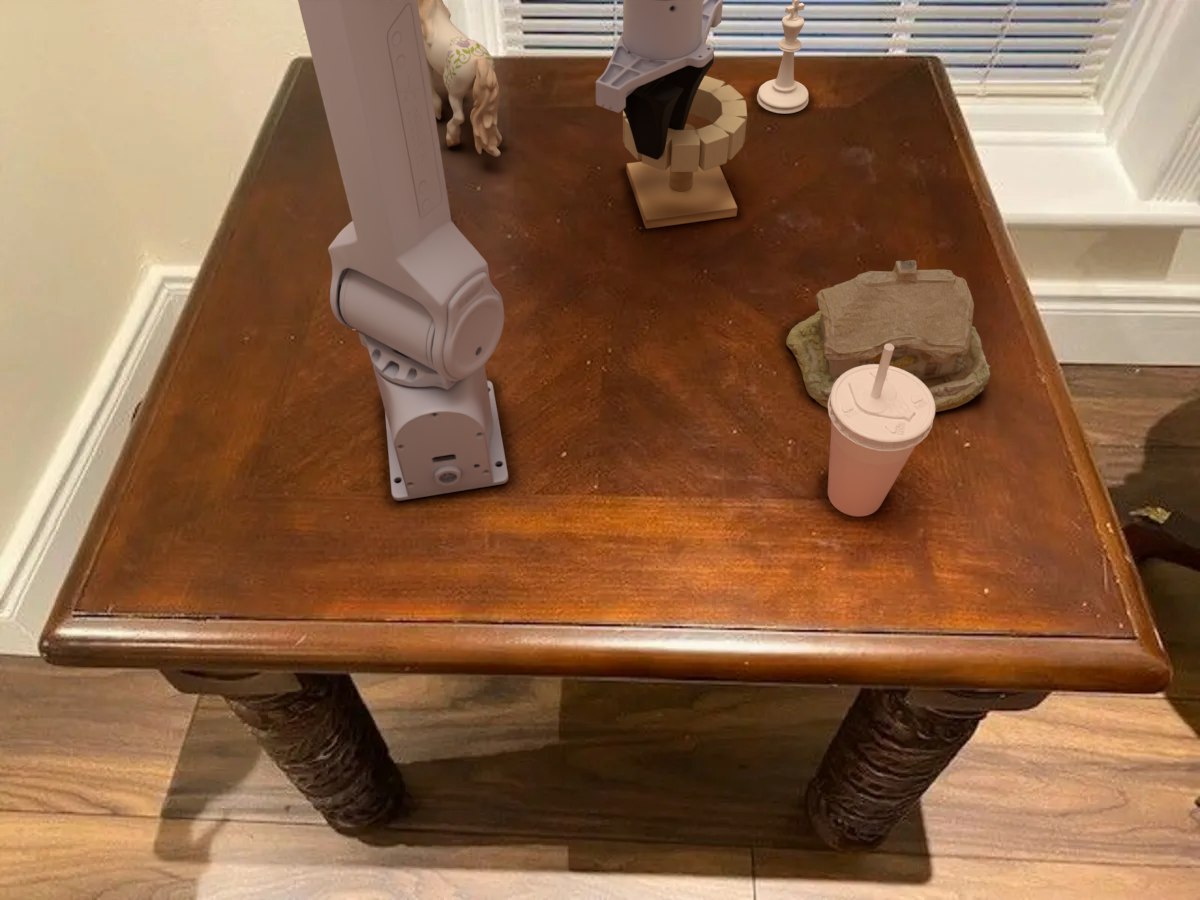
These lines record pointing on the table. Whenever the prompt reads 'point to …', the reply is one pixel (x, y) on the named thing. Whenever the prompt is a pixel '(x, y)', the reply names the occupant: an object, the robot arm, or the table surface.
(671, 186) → the post stand
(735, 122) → the block ring
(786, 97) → the chess piece
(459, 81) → the unicorn figurine
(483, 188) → the table surface
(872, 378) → the smoothie
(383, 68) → the robot arm
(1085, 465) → the table surface
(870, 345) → the ceramic model
